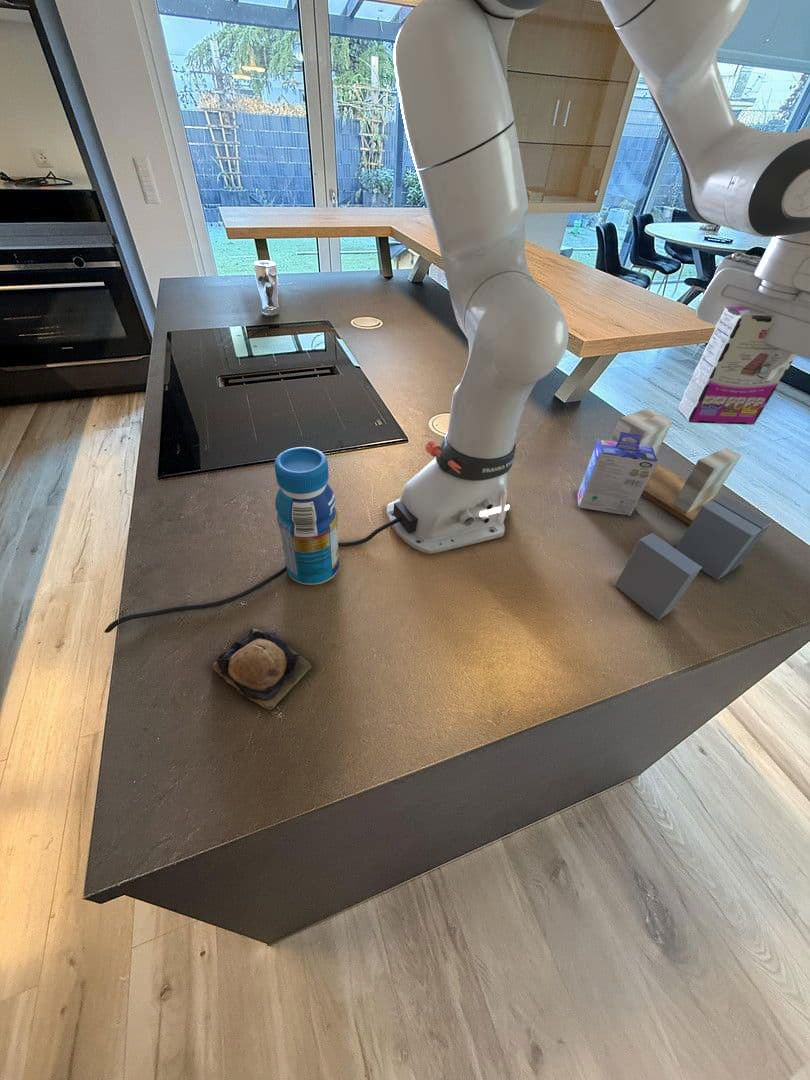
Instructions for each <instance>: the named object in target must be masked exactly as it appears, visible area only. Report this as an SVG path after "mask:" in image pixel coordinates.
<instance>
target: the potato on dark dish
mask: <svg viewBox="0 0 810 1080" xmlns="http://www.w3.org/2000/svg"><path fill="white" fill-rule="evenodd" d="M212 666H213V667H212V669H213V670H214V672H215V673H218V675H219V677H222V679H223V680H225V682H226V683H227V684H229V685H230V686H233V687H234V688H235V689H236V690H237V692H238V693H239V694H242V695H243V696H244V697H245V698H248V699H249V700H250V701H251V702H254V703H256V704H257V705H259V706H261V707H262V708H264V709H266V710H268V711H270V710H271V711H272V710H273V709H274V708H275V707H276V706H277V704H279V702H281V701H282V699H283V698H285V696H286V695H288V693H289V692H290V691H291V690H292V689H293V688H294V686H296V685H297V683H299V682H300V680H301V679H302V678H304V676H305V675H306V674H307V673H308V672H309V671H310V670H311V669H312V666H311V663H310V662H309V661H308V660H306V659H305V658H304V657H302V656H301V654H300V653H297V652H296V651H294V650H293V649H292V648H291V647H290V646H289V644H288V642H287V641H286V640H284V639H282V638H281V637H280V636H279V635H278V634H277V632H275V631H273V630H266V631H262V630H259V629H257V628H251V629H250V631H249V632H248V633H247V634H245V635H244V636H243V637H242V638H240V639H239V640H234V642H233V643H232V645H230V647H228V648H227V649H226V650H224V651H222V653H220V655H218V656H217V657H216V658H215V662H213V665H212Z"/></svg>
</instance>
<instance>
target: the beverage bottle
mask: <svg viewBox="0 0 810 1080" xmlns="http://www.w3.org/2000/svg"><path fill="white" fill-rule="evenodd" d="M274 473H275V478H276V482H277V485H278V487H279V488H278V490H277V492H276V496H275V499H274V505H275V506H274V507H275V510H276V512H277V513H276V524H277V527H278V529H279V533H280V537H281V543H282V548H283V553H284V554H283V555H284V558H285V566H286V568H287V571H286V572H287V574H288V575H289V577H290V578H291V579H292V580H293V581H294V582H296V583H298V584H301V585H305V586H317V585H321V584H325V583H327V582H328V581H330V580H331V579H333V577H335V575H336V574H337V573H338V571H339V568H340V556H339V554H340V553H339V547H338V542H339V538H338V537H339V535H338V518H339V515H338V509H337V507H336V504H337V498H336V495H335V493H334V491H333V489H332V487H331V486H330V485H329V484H328V482H329V477H330V476H329V463H328V459H327V457H326V455H325V453H323V452H322V451H320V450H319V449H316V448H313V447H307V446H299V447H293V448H289V449H286V450H284V451H282V452H280V453H279V454H278V455H277V456H276V458H275V460H274Z"/></svg>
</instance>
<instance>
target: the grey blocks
mask: <svg viewBox="0 0 810 1080" xmlns="http://www.w3.org/2000/svg"><path fill="white" fill-rule="evenodd" d="M716 498H717V499H715V500H713V501H711V502H709V503H707V504H706V505H704V506H702V507H701V509H700V511H699V512H698V514H697V515H696V517H695V518H694V520H693V522H692V523H691V525H689V526H688V528H687V529H686V531H685V532H684V533H683V535H682V537H681V539H680V541H679V542H678V544H677V545H676V546H675V547H674V546H672V545H670V544H669V543H668V542H666V541H665V540H664V539H662V538H660V537H659V536H657V535H656V534H654V533H653V532H652V533H650V534H648V535H646V536H644V537H642V538H640V539H639V540H638V542H637V544H636V546H635V548H634V549H633V551H632V553H631V555H630V556H629V559H628V560H627V562H626V564H625V565H624V567H623V569H622V571H621V573H620V575H619V577H618V578H617V580H616V582H615V584H614V587H616V588H617V589H618V590H620V591H621V592H622V593H623V594H625V595H626V596H627V597H628V598H629V599H631V600H632V601H633V602H634V603H636V604H637V605H638V606H639V607H641V608H642V609H643V610H644V611H645V612H647V613H648V614H649V615H651V617H653V619H656V621H659V620H661V619H663V617H665V616H667V615H668V614H670V613H671V611H672V610H673V609H674V608H675V606H676V604H677V603H678V601H679V600H680V599H681V597H682V596H683V595H684V593H685V592H686V590H687V589H688V588H689V586H690V585H691V584H692V582H693V581H694V579H695V578H696V577H697V575H699V573H700V571H702V572H704V573H706V574H707V575H708V576H710V577H712V578H713V579H714V580H715V581H718V580H720V579H721V578H723V577H724V576H726V575H727V574H729V573H731V572H732V571H734V570H735V569H736V568H738V567H739V565H740V564H741V563H742V562H743V561H744V559H745V558H746V557H747V555H748V554H750V552H751V550H752V549H753V548H754V547H755V545H756V544H757V543H758V541H759V540H760V539H761V538H762V536H763V535H764V534H765V533H766V531H768V529H769V527H771V525H772V524H773V521H771V520H770V519H767V518H766V517H764V516H762V515H760V514H758V513H757V512H756V511H754V510H751V509H750V508H748V507H747V506H744V505H743V504H741V503H739V502H738V501H736V500H734V499H732V498H730V497H728V496H727V495H725V494H722V495H720V496H719V497H716Z"/></svg>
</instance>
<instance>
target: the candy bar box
mask: <svg viewBox="0 0 810 1080" xmlns="http://www.w3.org/2000/svg"><path fill="white" fill-rule="evenodd" d="M774 320H775V317H774V316H771V315H768V314H765V313H762V312H759V311H755V310H752V309H748V308H744V307H730V306H725V308H724V310H723V312H722V314H721V316H720V318H719V321H718V323H717V325H715V327H714V329H713V330H712V331H713V332H712V334H711V335H710V337H709V340H708V342H707V344H706V346H705V348H704V350H703V353H702V355H701V357H700V359H699V361H698V363H697V365H696V367H695V369H694V371H693V374H692V375H691V378H690V380H689V382H688V384H687V385H686V389H685V391H684V393H683V395H682V397H681V399H680V401H679V403H678V405H677V408H676V410H677V412H678V413H679V414H680V415H681V416H682V417H683V418H684V419H685V421H687V422H688V423H691V424H713V425H714V424H715V425H717V424H718V425H746V426H747V425H748V426H750V425H751V426H752V425H753V426H754V425H755V424H756V422H757V420H758V419H759V418H760V416H761V415H762V412H763V410H764V409H765V407H766V405H767V404H768V402H769V401H770V399H771V397H772V396H773V394H774V392H775V391H776V389H777V388H778V386H779V385H780V383H781V381H782V379H783V377H784V376H785V374H786V373H787V371H788V370H789V368H790V366H791V365H792V363H793V361H794V360H792V361H791V362H789V363H788V364H786V365H785V366H783V367H781V368H779V370H778V371H777V373H776V375H775V376H774V378H773V379H772V380H769V381H766V380H763V379H761V378H759V377H757V376H758V374H759V373H760V372H761V369H762V367H763V366H764V365H768V364H771V365H773V364H775V363H776V362H777V361H779V360H780V359H782V358H779V357H778V355H779V354H780V352H781V350H782V349H779V348H777V347H774V346H771V345H768V344H766V343H764V339H765V337H766V335H767V333H768V331H769V330H770V328H771V326H772V324H773V322H774Z"/></svg>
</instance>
